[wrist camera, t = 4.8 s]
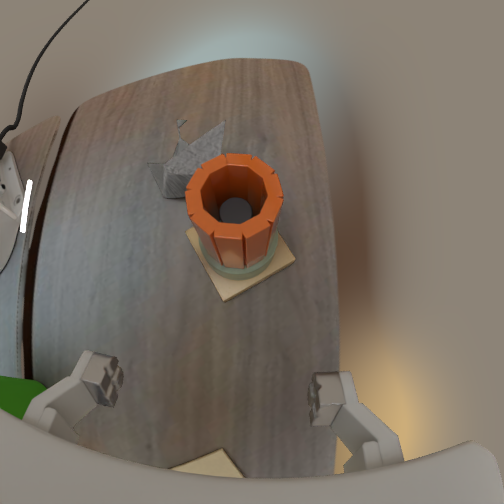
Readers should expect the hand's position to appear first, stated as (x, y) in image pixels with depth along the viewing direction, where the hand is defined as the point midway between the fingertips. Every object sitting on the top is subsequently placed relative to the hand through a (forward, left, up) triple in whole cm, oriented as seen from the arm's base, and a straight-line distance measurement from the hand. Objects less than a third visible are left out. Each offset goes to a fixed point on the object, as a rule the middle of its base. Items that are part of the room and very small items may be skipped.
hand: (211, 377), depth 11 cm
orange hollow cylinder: (-8, +6, -12) cm, 16 cm away
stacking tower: (-9, +6, -17) cm, 20 cm away
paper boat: (-19, +6, -17) cm, 27 cm away
